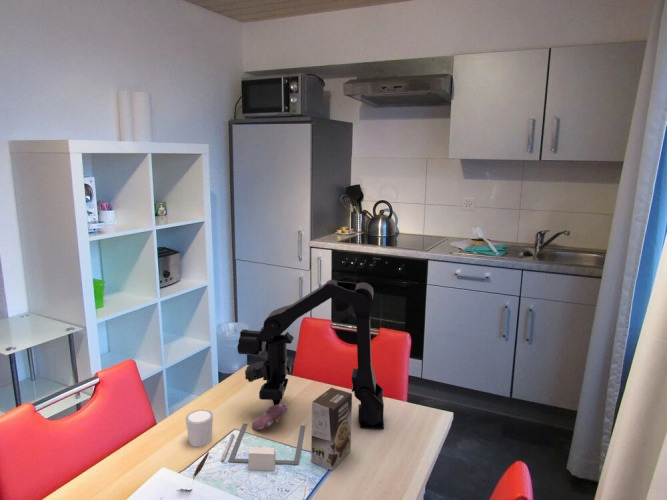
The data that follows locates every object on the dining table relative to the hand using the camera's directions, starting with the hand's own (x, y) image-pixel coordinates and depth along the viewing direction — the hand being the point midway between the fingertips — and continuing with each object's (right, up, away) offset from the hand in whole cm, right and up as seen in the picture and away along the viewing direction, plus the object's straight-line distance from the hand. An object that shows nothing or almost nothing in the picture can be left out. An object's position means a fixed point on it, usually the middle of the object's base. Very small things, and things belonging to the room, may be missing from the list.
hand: (276, 406), depth 136 cm
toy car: (-1, -4, -4) cm, 6 cm away
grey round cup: (-18, -5, -12) cm, 23 cm away
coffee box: (+16, -7, -18) cm, 25 cm away
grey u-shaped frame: (-1, -6, -14) cm, 15 cm away
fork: (-16, -8, -25) cm, 30 cm away
